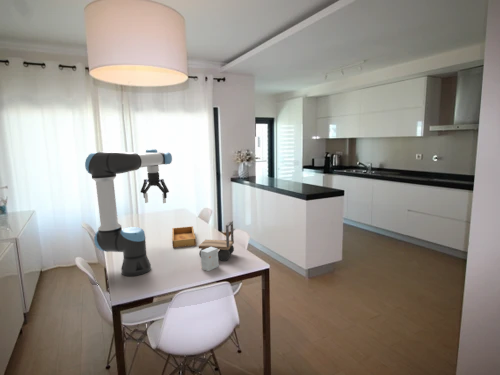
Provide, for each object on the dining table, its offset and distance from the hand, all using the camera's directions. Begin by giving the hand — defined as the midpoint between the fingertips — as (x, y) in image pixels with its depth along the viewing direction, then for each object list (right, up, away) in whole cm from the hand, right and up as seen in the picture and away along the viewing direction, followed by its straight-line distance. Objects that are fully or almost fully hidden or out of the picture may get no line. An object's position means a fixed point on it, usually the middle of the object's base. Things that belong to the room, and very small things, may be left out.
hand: (155, 202), depth 214 cm
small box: (+44, -34, -45) cm, 71 cm away
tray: (+18, -27, +6) cm, 33 cm away
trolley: (+46, -31, -29) cm, 62 cm away
